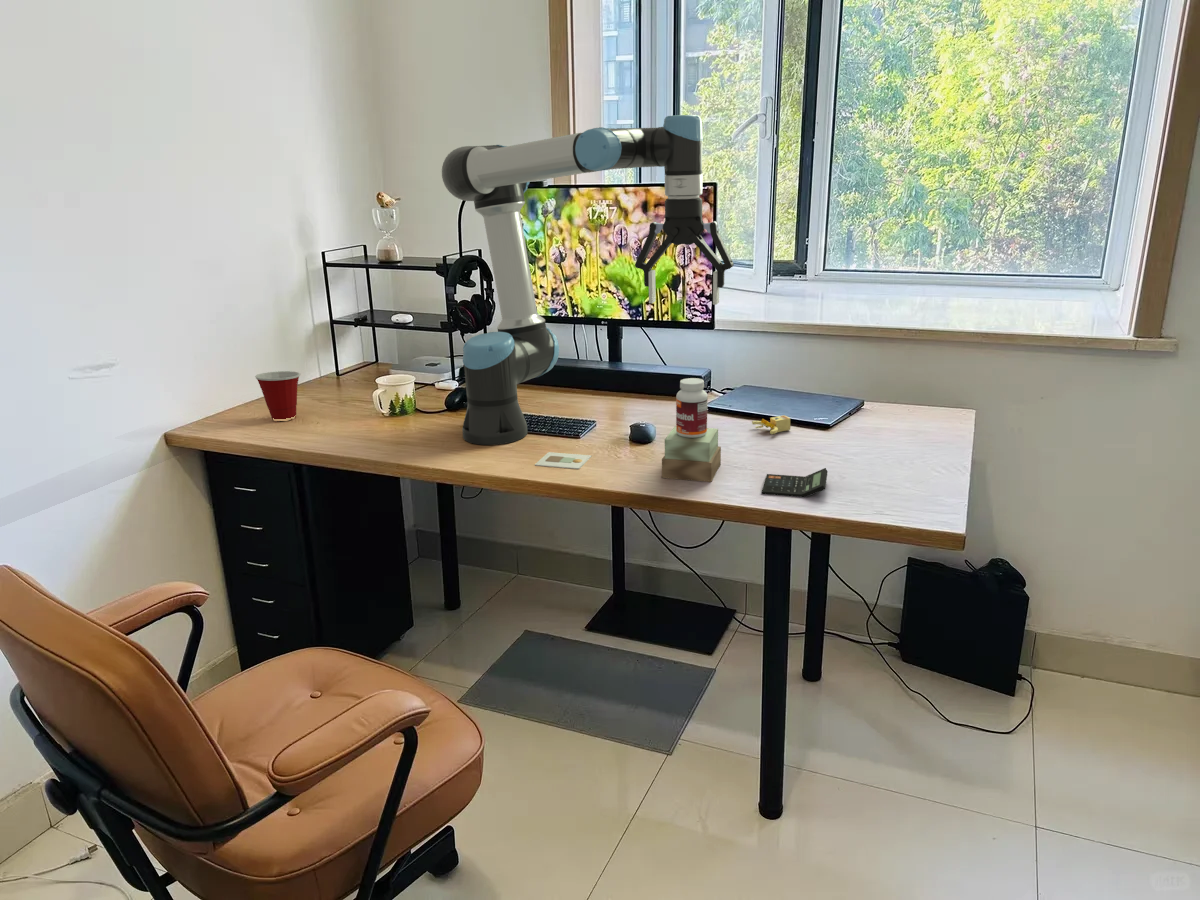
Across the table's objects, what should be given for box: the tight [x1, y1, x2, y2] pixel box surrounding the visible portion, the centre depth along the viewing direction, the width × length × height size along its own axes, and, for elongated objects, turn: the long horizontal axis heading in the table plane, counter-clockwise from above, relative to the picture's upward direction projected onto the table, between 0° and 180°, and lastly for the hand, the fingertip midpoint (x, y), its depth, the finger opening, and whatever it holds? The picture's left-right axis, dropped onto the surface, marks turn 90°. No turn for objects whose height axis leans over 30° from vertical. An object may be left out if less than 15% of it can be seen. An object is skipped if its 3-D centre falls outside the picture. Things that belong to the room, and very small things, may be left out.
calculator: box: [761, 467, 828, 498], centre depth 164 cm, size 9×12×3 cm
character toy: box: [751, 414, 791, 435], centre depth 196 cm, size 8×3×8 cm
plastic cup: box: [254, 370, 301, 419], centre depth 218 cm, size 11×11×12 cm
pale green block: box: [661, 425, 722, 483], centre depth 173 cm, size 10×10×8 cm
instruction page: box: [534, 451, 592, 470], centre depth 183 cm, size 10×8×1 cm
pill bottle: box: [675, 377, 708, 438], centre depth 170 cm, size 6×6×11 cm
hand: (683, 303), depth 179 cm, fingers open, 13 cm apart
